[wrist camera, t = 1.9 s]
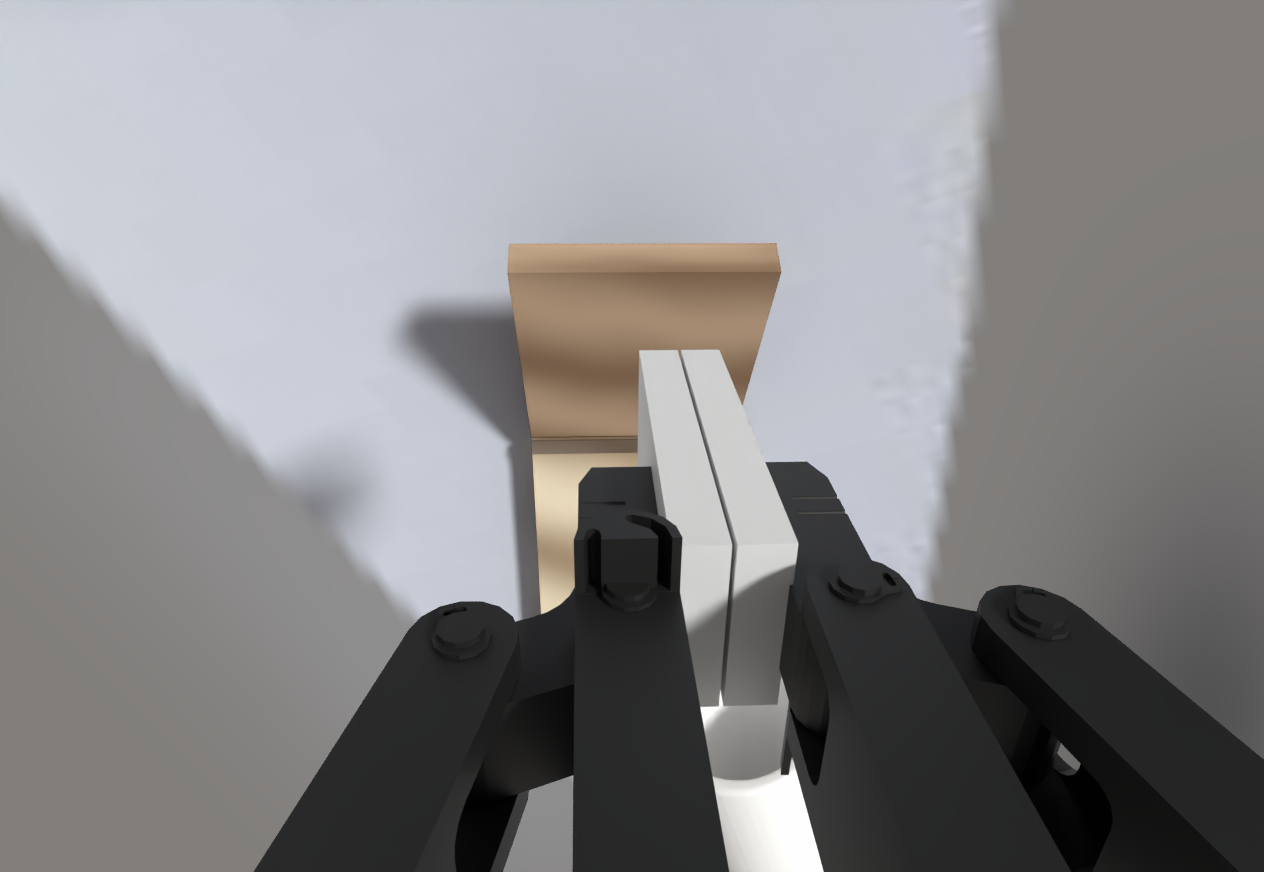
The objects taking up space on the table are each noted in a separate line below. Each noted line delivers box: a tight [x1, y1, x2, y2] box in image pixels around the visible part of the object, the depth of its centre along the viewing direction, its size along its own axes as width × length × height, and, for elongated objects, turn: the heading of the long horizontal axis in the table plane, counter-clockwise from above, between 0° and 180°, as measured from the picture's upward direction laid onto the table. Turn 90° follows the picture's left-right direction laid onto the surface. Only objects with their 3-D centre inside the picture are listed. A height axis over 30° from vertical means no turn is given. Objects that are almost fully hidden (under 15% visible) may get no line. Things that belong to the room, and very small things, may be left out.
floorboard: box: [531, 436, 638, 614], centre depth 36 cm, size 12×8×2 cm
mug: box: [700, 676, 824, 872], centre depth 40 cm, size 12×10×8 cm
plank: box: [507, 243, 781, 437], centre depth 29 cm, size 10×8×1 cm
